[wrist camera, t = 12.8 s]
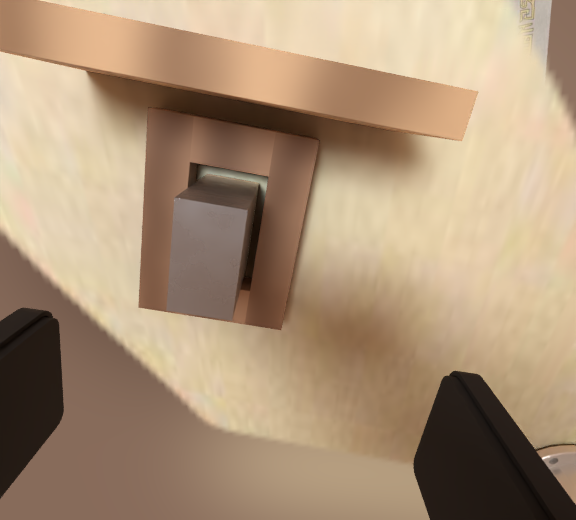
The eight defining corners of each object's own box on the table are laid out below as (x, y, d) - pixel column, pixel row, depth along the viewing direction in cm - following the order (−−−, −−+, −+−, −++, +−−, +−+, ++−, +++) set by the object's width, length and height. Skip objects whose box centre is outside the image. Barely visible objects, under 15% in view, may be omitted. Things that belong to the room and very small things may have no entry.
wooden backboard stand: (399, 101, 27) (478, 91, 16) (339, 324, 33) (366, 429, 22) (85, 38, 26) (-74, -23, 14) (86, 283, 32) (-22, 373, 21)
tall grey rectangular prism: (259, 182, 29) (247, 210, 21) (246, 265, 32) (232, 320, 23) (207, 173, 29) (174, 197, 20) (198, 258, 31) (166, 310, 23)
